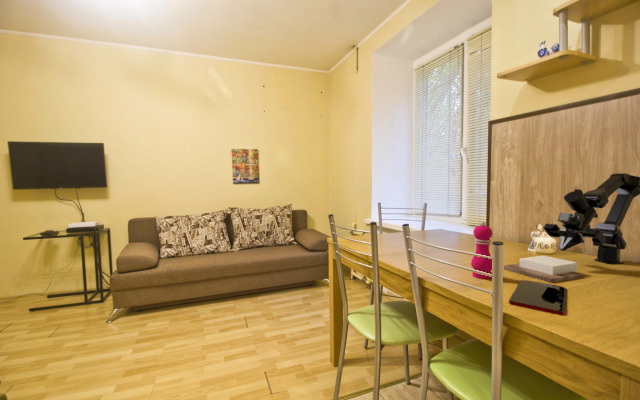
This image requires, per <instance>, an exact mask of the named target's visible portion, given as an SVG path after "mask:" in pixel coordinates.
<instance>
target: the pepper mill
mask: <svg viewBox="0 0 640 400" xmlns="http://www.w3.org/2000/svg"><path fill="white" fill-rule="evenodd" d="M479 224H480V225H477V226H475V227H474V228H473V232H472V233H473V236H474V237H475V238H474V240H475V241H474V243H475V246H476V247H475V252H474V254H475V253H476V254H481V255H486V256H490V257H492V255H491V253H490V245H491V241H492V239H491V238H492V237H493V230H492V228H491V227H490V226H487V225H486V224H487V223H486V222H485V221H484V220H482V221H480V223H479ZM492 260H493V258H492V259H488V258H483V257H477V256H474V255H473V256H472V258H471V261H470V266H471V267H472V268H473V270H474V269H475V270H479V271H483V272H486V273H490V274H492V275H493V272H492V270H493V269H492ZM472 276H473V277H474V278H476V279H480V280H491V279H492V278H493V276H492V277H489V276H485V275H481V274H478V273H475V272H473V271H472Z"/></svg>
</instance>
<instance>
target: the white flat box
mask: <svg viewBox="0 0 640 400" xmlns="http://www.w3.org/2000/svg"><path fill="white" fill-rule="evenodd" d="M519 263H520V265H519V266H520V267H524V268H528V269H532V270H535V271H539V272H543V273H547V274H550V275H556V274H562V273H568V272H577V271H578V262H576V261H572V260H566V259H561V258H559V257H558V258H557V257H553V256H552V257H551V256H549V255H537V256H536V255H535V256H530V257H523V258H521V257H520V258H519Z"/></svg>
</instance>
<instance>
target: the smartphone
mask: <svg viewBox="0 0 640 400" xmlns="http://www.w3.org/2000/svg"><path fill="white" fill-rule="evenodd" d="M565 289H566V290H567V288H566V287H565V286H562V285H556V284H550V283H546V282H538V281H533V280H532V281H531V280H525V279H522V280H520V281H519V282H518V284H517V286H516V287H515V290H514V291H513V292H512V294H511V296H510V297H509V299H508V304H509V305H511V306H515V307H519V308H524V309H530V310H534V311H539V312H543V313H549V314H552V315H558V316H564V315H565V310H566V304H567V303H566V302H565V301H566V297H567V293H566V290H565Z"/></svg>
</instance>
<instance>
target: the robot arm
mask: <svg viewBox="0 0 640 400" xmlns="http://www.w3.org/2000/svg"><path fill="white" fill-rule="evenodd" d="M615 192H617V194H616V196H615V199H614V201H613V204H611V205H612V206H611V208H610V209H609V212H608V214H607V215H606V218H605V220H604V222H597V223H596V224H595V227H594V228H592V227H591V225H590V224H591V222H592V221H593V219H594V218H595V219H599V215H598V213H597V210H596V209H603V208H605V207H606V206H607V204H608V203H609V202H610V201H609V198H610V196H612V194H614V193H615ZM639 195H640V176H637V175H631V174H629V173H624V172H623V173H619V172H617V173H613V174H612V173H611V174H610V176H609V177H608V178H607V179H606V180H605V181H604V182H602V183H601V184H599V186H597V188H595V189H592V190H588V191H586V192H583V190H582V188H581V189H579V188H575V189H574V190H573V191H570V192H568V193H566V194H565V195H564V197H563V199H564V201H565V202H566V204H567V205H568V207H569V208H570V210H572V211H574V212H573V213H566V212H565V213H564V212H559V214H558V215H559V216H558V218H557V222H560V223H562V224H561V225H562V226H560V227H559V226H558V224H555V223H545V224H544V225H543V230H544V231H545V232H546V234H547V235H548V236H550V237H551V238H560V245H559V249H560V251H561V252H562V251H567V250H568V249H570V248H572V247H575V246H577V245H580V244H584V243H585V239H587V238H591V242H592V245H593V246H594V247H597V251H596V252H597V256H596V257H597V258H594V260H593V261H597V262H599V263H600V262H601V263H605V264H611V265H612V264H613V265H614V264H615V265H616V264H617V265H618V264H624V262H625V261H621V259H620V258H621V255H620V253H621V250H625V249H626V248H627V242H626V241H625V238H624V237H623V235H624V234H623V231H622V229H621V226H622V224H623V221H624V219H625V217H626V215H627V213H628V210H629V208H630V206H631V204H632V202H633V200H634V199H635V198H636V197H638V196H639Z"/></svg>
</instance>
